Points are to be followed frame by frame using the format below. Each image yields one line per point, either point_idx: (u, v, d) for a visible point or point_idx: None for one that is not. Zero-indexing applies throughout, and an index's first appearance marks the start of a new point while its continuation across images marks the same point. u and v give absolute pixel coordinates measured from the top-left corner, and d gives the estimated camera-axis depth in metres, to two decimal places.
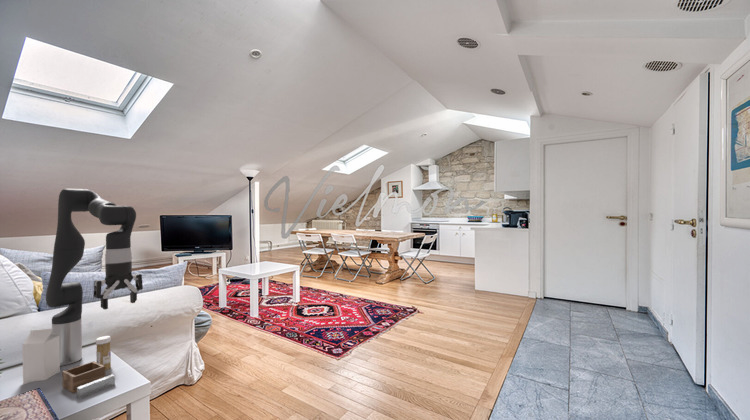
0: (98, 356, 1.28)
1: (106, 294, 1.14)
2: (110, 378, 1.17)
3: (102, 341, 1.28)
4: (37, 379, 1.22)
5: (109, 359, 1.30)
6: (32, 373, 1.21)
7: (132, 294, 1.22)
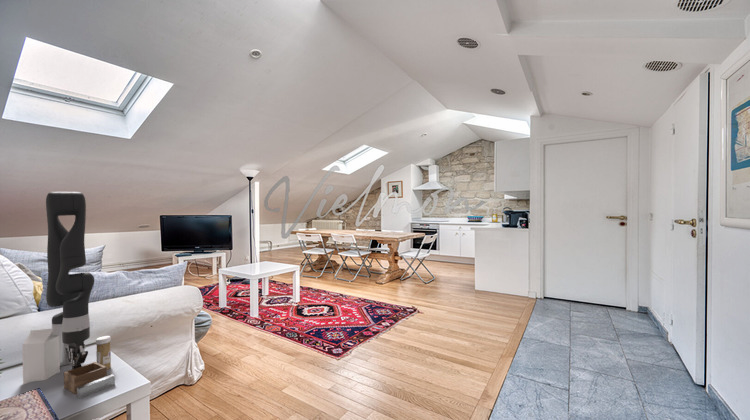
0: (98, 356, 1.28)
1: None
2: (110, 378, 1.17)
3: (102, 341, 1.28)
4: (37, 379, 1.22)
5: (109, 359, 1.30)
6: (32, 373, 1.21)
7: None
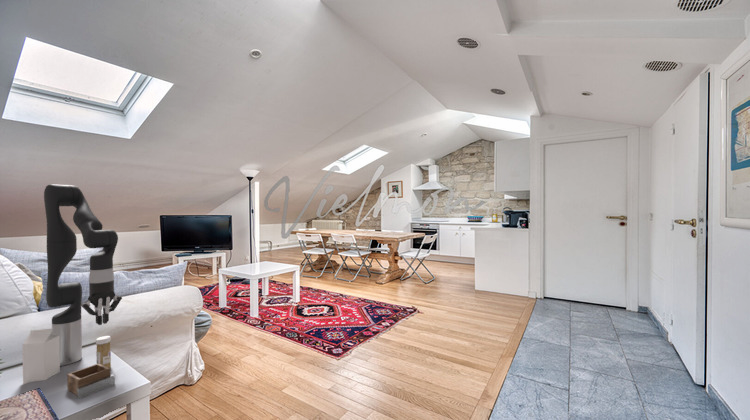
0: (98, 356, 1.28)
1: None
2: (110, 378, 1.17)
3: (102, 341, 1.28)
4: (37, 379, 1.22)
5: (109, 359, 1.30)
6: (32, 373, 1.21)
7: None
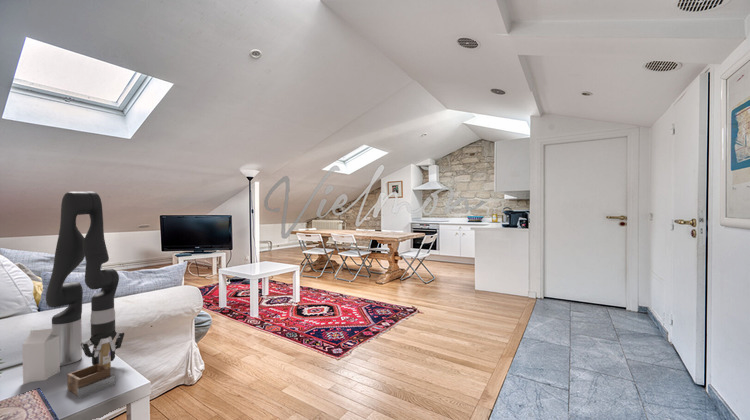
0: (98, 356, 1.28)
1: None
2: (110, 378, 1.17)
3: (102, 341, 1.28)
4: (37, 379, 1.22)
5: (109, 359, 1.30)
6: (32, 373, 1.21)
7: None
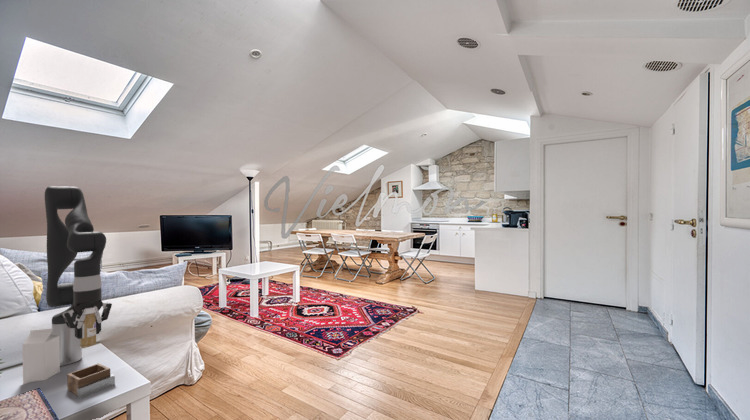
0: (82, 328, 1.15)
1: None
2: (110, 378, 1.17)
3: (86, 311, 1.15)
4: (37, 379, 1.22)
5: (94, 332, 1.17)
6: (32, 373, 1.21)
7: None
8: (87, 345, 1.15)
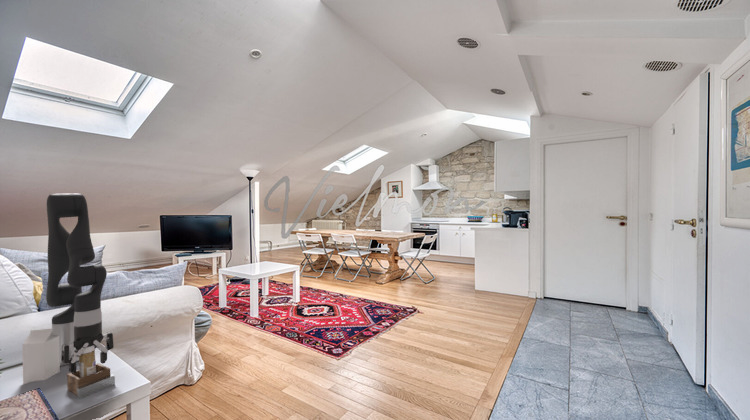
0: (81, 367, 1.15)
1: None
2: (110, 378, 1.17)
3: (85, 350, 1.15)
4: (37, 379, 1.22)
5: (94, 370, 1.17)
6: (32, 373, 1.21)
7: None
8: None
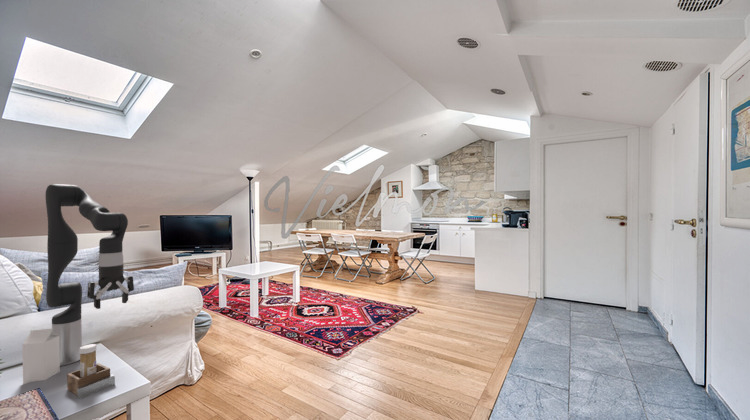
0: (82, 367, 1.15)
1: None
2: (110, 378, 1.17)
3: (86, 350, 1.15)
4: (37, 379, 1.22)
5: (94, 370, 1.17)
6: (32, 373, 1.21)
7: None
8: None
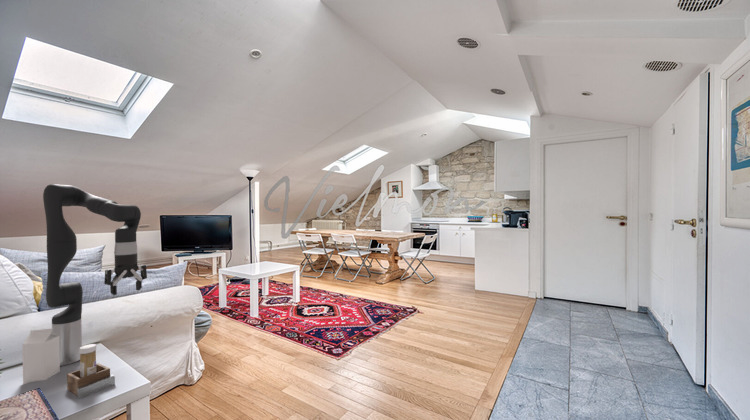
0: (82, 367, 1.15)
1: None
2: (110, 378, 1.17)
3: (86, 350, 1.15)
4: (37, 379, 1.22)
5: (94, 370, 1.17)
6: (32, 373, 1.21)
7: None
8: None
